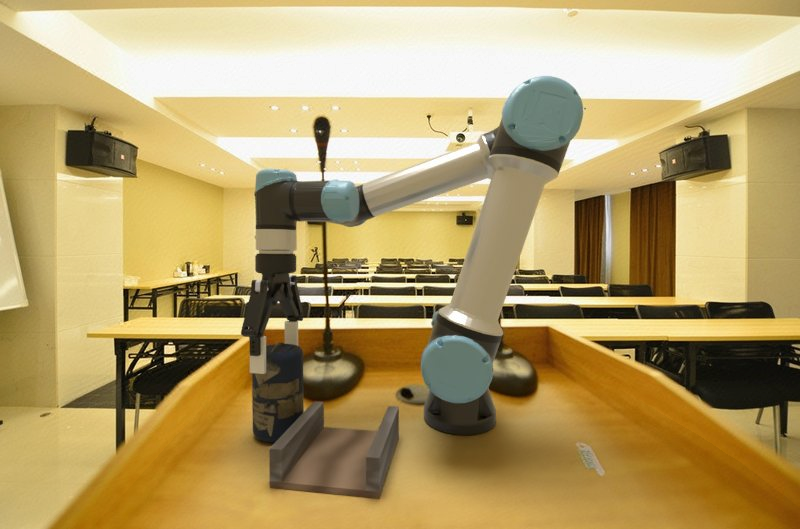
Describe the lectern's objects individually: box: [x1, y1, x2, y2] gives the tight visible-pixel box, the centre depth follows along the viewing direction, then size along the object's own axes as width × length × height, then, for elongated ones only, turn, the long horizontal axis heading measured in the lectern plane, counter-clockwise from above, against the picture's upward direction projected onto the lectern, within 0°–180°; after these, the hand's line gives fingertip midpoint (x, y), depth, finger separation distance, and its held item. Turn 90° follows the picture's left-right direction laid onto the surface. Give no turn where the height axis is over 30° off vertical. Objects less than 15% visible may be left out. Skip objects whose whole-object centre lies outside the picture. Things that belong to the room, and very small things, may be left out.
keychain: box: [574, 442, 606, 477], centre depth 66 cm, size 10×1×3 cm
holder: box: [268, 400, 400, 499], centre depth 65 cm, size 17×18×6 cm
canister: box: [251, 341, 305, 443], centre depth 74 cm, size 10×10×18 cm
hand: (276, 361), depth 74 cm, fingers open, 13 cm apart
